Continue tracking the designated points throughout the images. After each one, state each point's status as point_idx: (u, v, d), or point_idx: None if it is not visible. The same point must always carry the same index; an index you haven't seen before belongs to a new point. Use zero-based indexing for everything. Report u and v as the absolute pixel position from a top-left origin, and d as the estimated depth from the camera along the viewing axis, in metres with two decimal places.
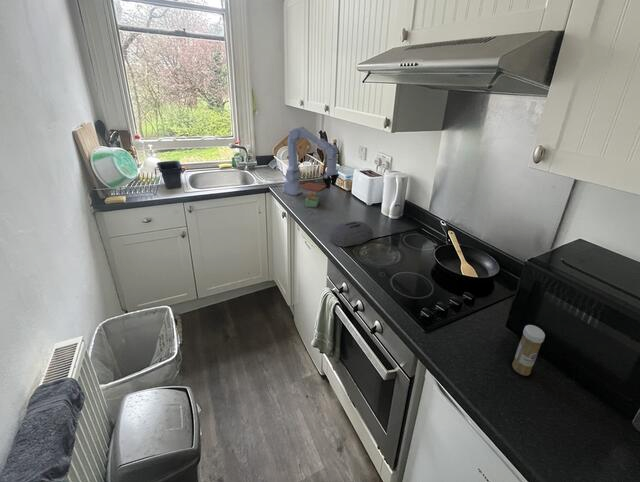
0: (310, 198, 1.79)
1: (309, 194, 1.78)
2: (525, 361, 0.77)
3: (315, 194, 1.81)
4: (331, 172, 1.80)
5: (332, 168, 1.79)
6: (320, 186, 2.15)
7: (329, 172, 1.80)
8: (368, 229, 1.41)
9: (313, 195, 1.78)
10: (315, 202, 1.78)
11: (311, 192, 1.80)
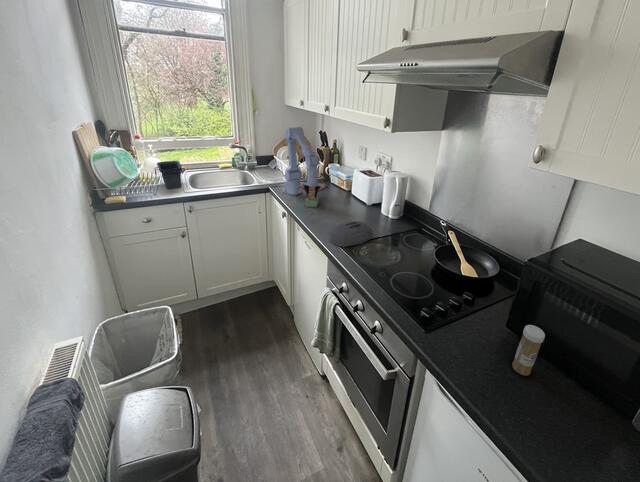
0: (310, 198, 1.79)
1: (309, 194, 1.78)
2: (525, 361, 0.77)
3: None
4: (307, 182, 1.76)
5: (308, 178, 1.75)
6: None
7: (307, 182, 1.78)
8: (368, 229, 1.41)
9: (313, 195, 1.78)
10: (315, 202, 1.78)
11: (311, 192, 1.80)
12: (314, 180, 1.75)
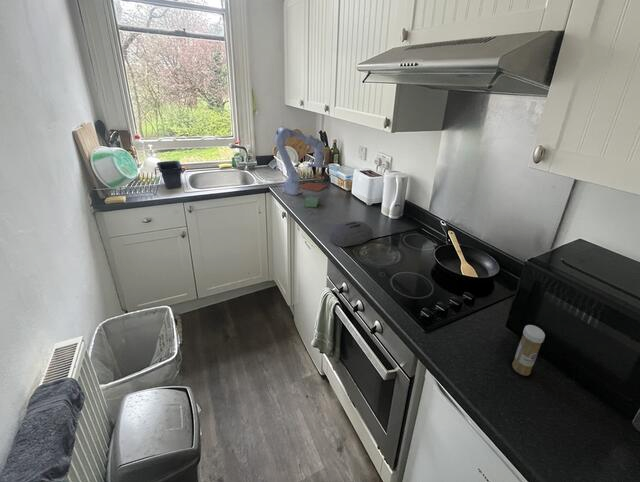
0: (317, 178, 2.03)
1: (316, 174, 2.02)
2: (525, 361, 0.77)
3: None
4: (315, 163, 2.00)
5: (315, 160, 1.98)
6: (320, 186, 2.15)
7: None
8: (368, 229, 1.41)
9: (320, 175, 2.02)
10: (315, 202, 1.78)
11: (318, 173, 2.03)
12: (321, 161, 1.98)
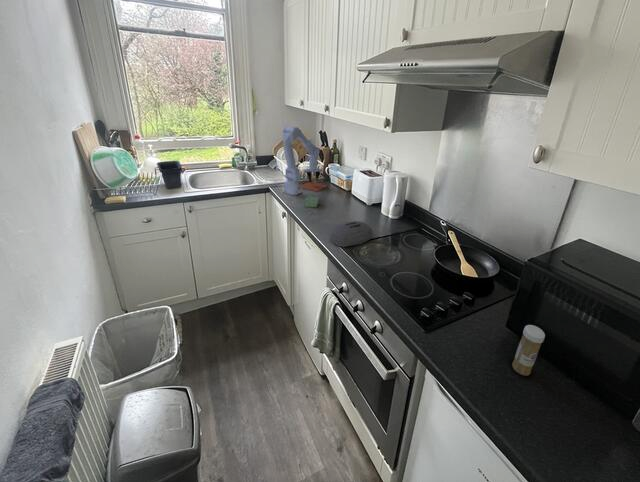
0: (313, 182, 2.12)
1: (312, 179, 2.11)
2: (525, 361, 0.77)
3: None
4: (310, 169, 2.08)
5: (311, 166, 2.07)
6: (320, 186, 2.15)
7: (309, 169, 2.09)
8: (368, 229, 1.41)
9: (316, 179, 2.12)
10: (315, 202, 1.78)
11: (312, 177, 2.12)
12: (316, 166, 2.08)
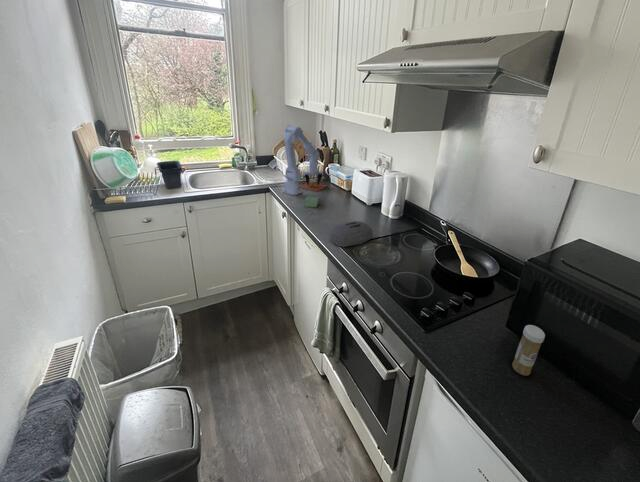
0: (313, 186, 2.13)
1: (312, 182, 2.11)
2: (525, 361, 0.77)
3: None
4: (310, 172, 2.09)
5: (311, 168, 2.07)
6: (320, 186, 2.15)
7: (309, 171, 2.09)
8: (368, 229, 1.41)
9: (316, 183, 2.13)
10: (315, 202, 1.78)
11: (312, 181, 2.13)
12: (316, 169, 2.09)
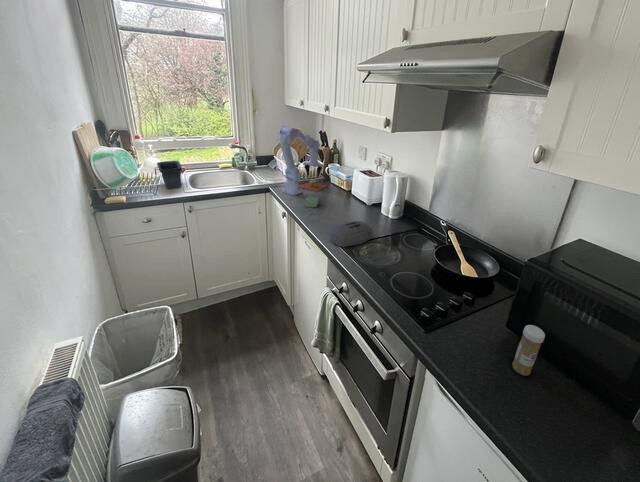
0: (313, 186, 2.13)
1: (312, 182, 2.11)
2: (525, 361, 0.77)
3: None
4: None
5: None
6: (320, 186, 2.15)
7: (317, 163, 2.08)
8: (368, 229, 1.41)
9: (316, 183, 2.13)
10: (315, 202, 1.78)
11: (312, 181, 2.13)
12: None
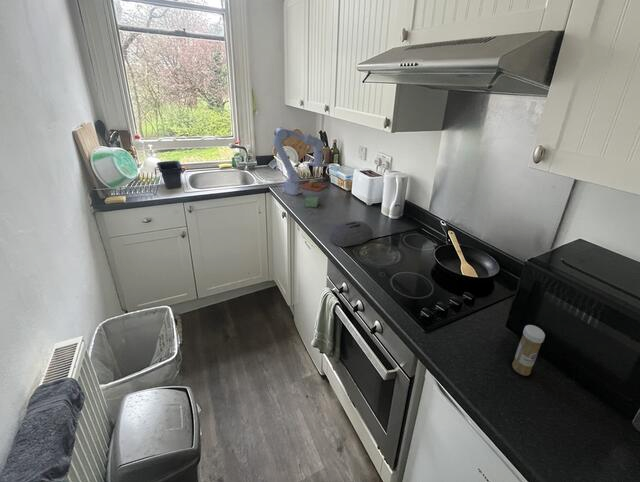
0: (313, 186, 2.13)
1: (312, 182, 2.11)
2: (525, 361, 0.77)
3: None
4: None
5: None
6: (320, 186, 2.15)
7: (322, 163, 1.99)
8: (368, 229, 1.41)
9: (316, 183, 2.13)
10: (315, 202, 1.78)
11: (312, 181, 2.13)
12: None
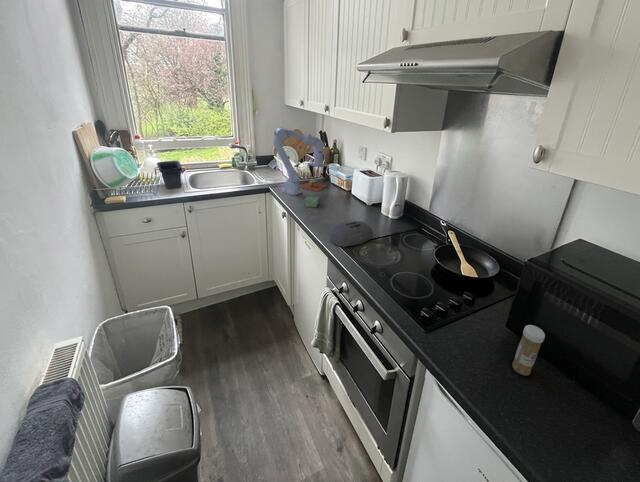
0: (313, 186, 2.13)
1: (312, 182, 2.11)
2: (525, 361, 0.77)
3: None
4: None
5: None
6: (320, 186, 2.15)
7: (322, 163, 1.99)
8: (368, 229, 1.41)
9: (316, 183, 2.13)
10: (315, 202, 1.78)
11: (312, 181, 2.13)
12: None
